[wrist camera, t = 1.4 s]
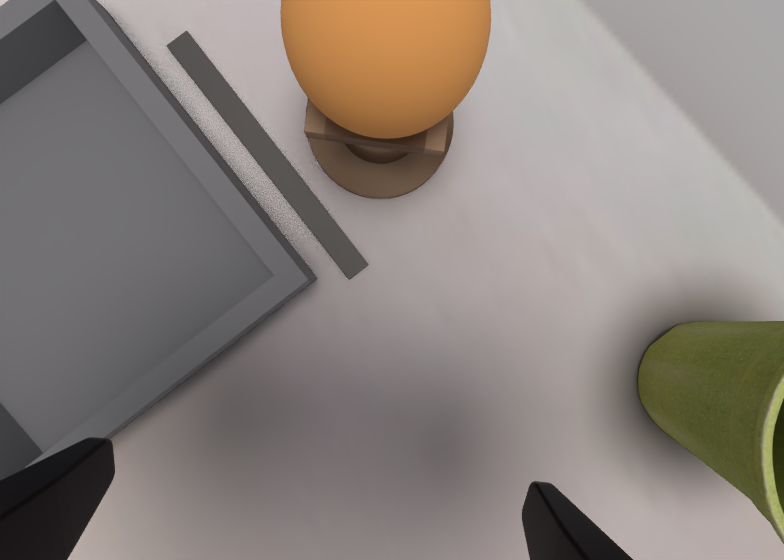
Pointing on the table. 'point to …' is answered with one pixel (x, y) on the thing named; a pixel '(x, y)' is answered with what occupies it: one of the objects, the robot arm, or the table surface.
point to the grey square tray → (112, 235)
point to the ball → (386, 59)
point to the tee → (376, 156)
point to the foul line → (267, 154)
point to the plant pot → (724, 402)
